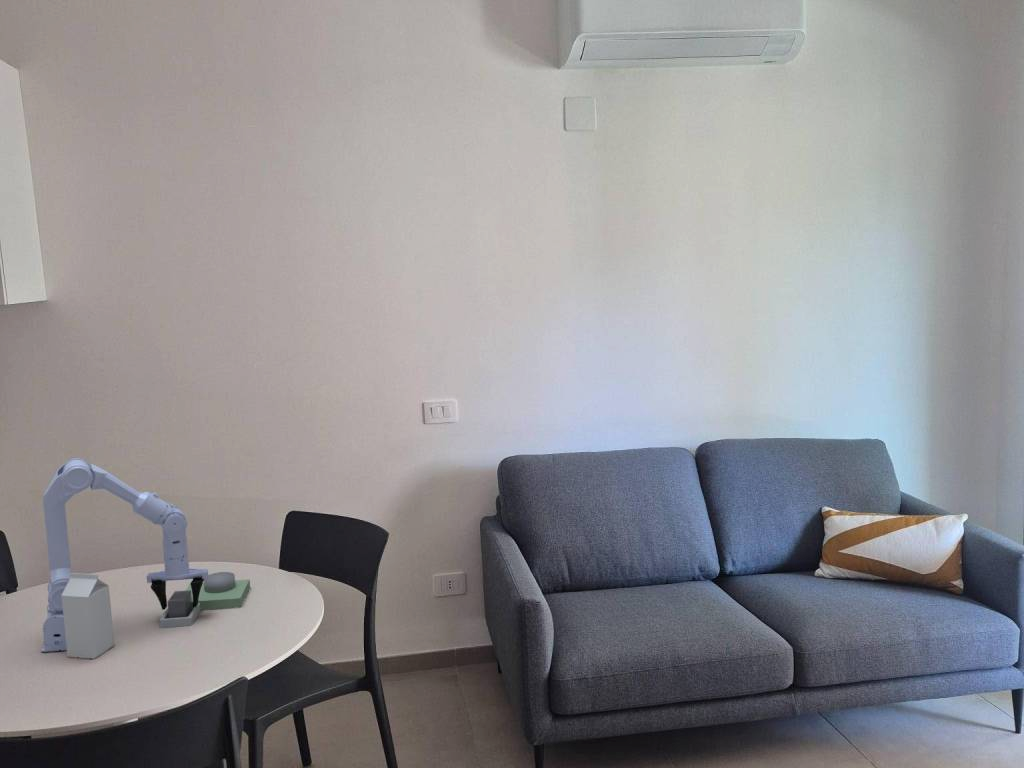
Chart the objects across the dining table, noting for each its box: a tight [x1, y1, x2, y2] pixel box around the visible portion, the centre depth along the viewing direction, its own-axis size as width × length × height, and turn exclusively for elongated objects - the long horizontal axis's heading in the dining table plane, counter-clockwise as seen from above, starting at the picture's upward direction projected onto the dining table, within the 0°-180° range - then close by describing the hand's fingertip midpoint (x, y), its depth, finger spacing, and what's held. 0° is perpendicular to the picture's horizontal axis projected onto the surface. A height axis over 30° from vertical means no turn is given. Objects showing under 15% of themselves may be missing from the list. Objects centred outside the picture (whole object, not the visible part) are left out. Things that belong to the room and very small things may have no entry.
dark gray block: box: [167, 590, 192, 618], centre depth 216 cm, size 7×4×6 cm, turn 7°
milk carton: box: [61, 572, 115, 660], centre depth 197 cm, size 7×7×19 cm
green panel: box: [158, 571, 251, 629], centre depth 223 cm, size 24×18×6 cm
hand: (180, 607), depth 216 cm, fingers open, 7 cm apart
